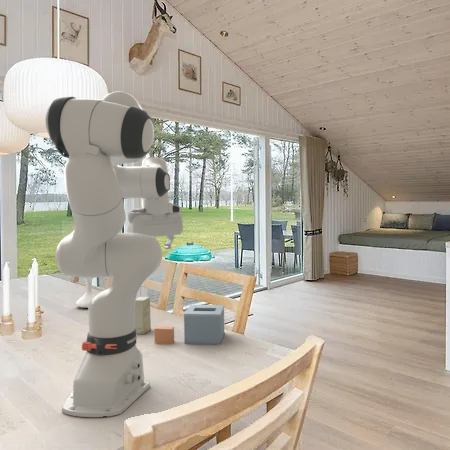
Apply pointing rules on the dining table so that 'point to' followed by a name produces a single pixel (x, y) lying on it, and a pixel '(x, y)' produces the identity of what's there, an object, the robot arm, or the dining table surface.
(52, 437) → the dining table surface
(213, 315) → the coin box
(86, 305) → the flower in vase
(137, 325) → the skincare box
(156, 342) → the token
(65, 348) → the dining table surface
